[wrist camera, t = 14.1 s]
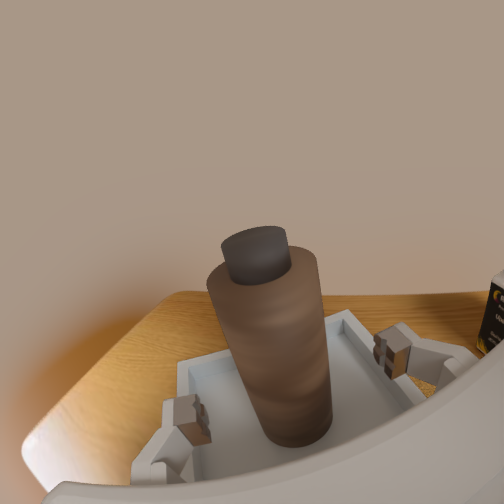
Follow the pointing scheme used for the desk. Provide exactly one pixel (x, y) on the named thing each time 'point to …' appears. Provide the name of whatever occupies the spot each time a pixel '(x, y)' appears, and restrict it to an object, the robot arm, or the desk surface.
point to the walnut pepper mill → (276, 332)
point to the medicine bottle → (493, 317)
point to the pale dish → (245, 419)
